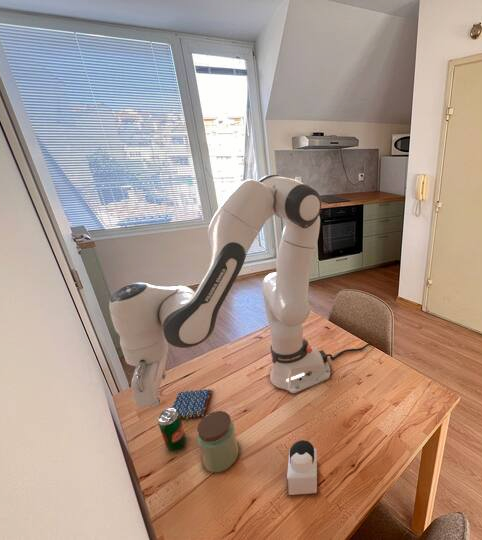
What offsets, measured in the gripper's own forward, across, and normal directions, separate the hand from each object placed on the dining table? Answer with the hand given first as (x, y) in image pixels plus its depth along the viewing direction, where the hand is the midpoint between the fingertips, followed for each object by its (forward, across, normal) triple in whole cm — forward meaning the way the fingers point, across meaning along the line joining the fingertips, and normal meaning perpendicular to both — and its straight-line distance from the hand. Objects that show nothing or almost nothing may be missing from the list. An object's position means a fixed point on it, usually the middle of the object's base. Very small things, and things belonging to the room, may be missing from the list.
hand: (159, 390), depth 76 cm
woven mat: (+21, +13, -3) cm, 25 cm away
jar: (+21, -8, -12) cm, 26 cm away
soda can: (+21, 0, 0) cm, 21 cm away
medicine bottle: (+21, -22, -32) cm, 44 cm away
